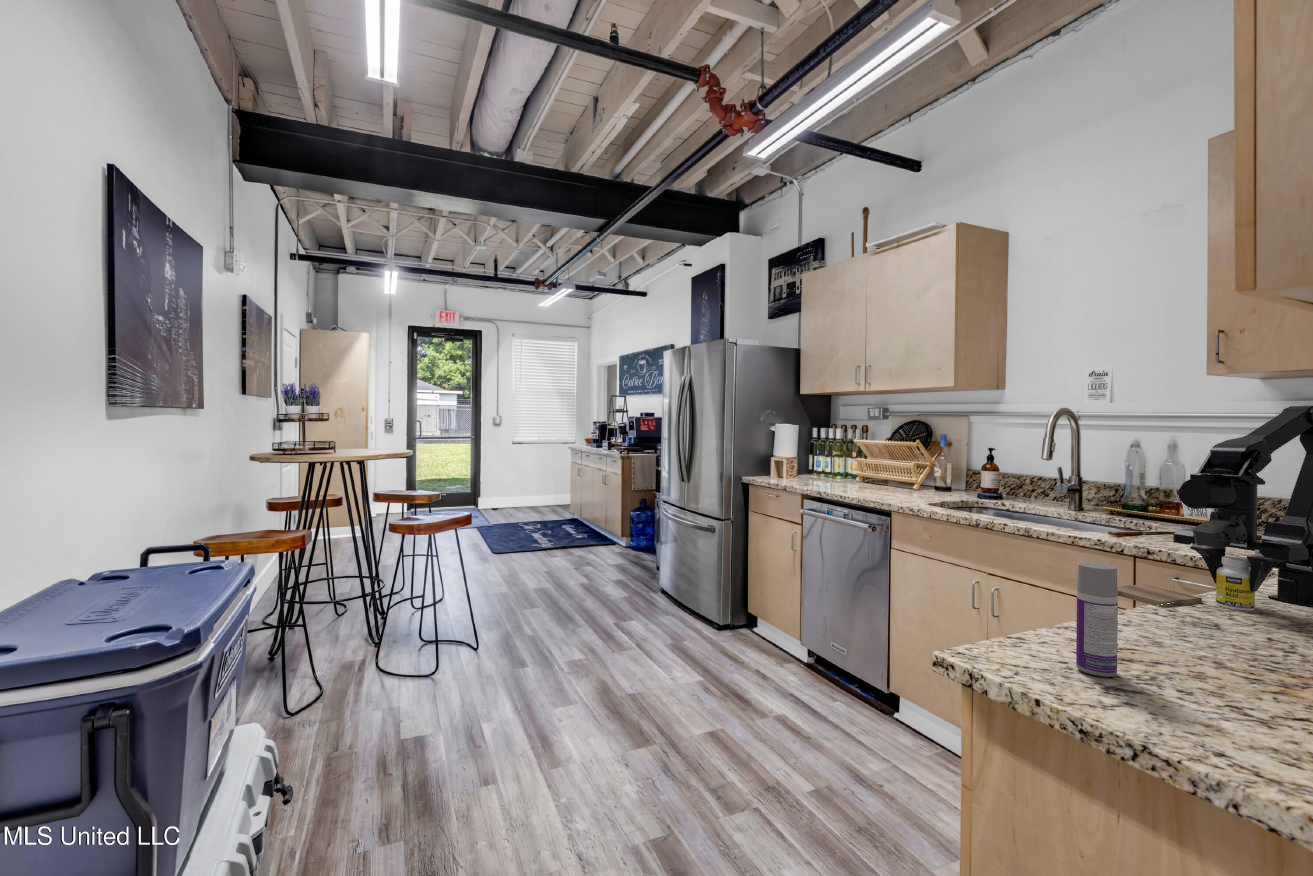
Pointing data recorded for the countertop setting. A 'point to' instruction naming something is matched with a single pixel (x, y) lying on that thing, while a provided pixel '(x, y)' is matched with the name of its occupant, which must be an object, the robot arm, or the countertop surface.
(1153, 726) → the countertop surface
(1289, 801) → the countertop surface
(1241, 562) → the supplement bottle
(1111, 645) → the container
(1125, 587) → the riser
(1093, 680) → the countertop surface
